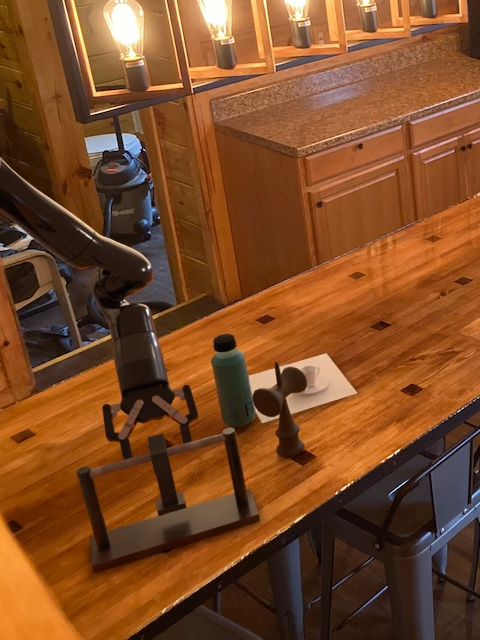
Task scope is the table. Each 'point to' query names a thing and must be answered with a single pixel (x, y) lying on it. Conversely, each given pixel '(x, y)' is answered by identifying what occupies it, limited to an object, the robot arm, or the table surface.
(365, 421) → the table surface
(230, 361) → the beverage bottle
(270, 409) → the kendama
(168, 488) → the hook hanger
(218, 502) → the rail stand
